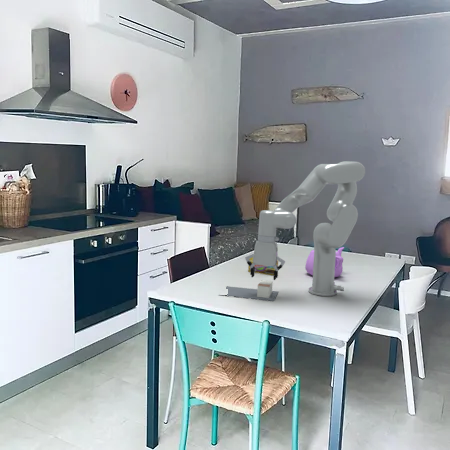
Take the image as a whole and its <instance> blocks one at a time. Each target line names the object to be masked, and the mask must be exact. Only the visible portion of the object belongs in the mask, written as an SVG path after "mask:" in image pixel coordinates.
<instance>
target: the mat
mask: <svg viewBox="0 0 450 450" xmlns="http://www.w3.org/2000/svg"><path fill="white" fill-rule="evenodd" d="M225 287H226V289H228V294H227V295H228V296H227V297H229V296H236V297H235V298H239V297H243V298H242V299H248V298H251V299H250V300H257V299H259V300H260V301H267V300H268V301H269V302H274V301H275V299H276V297H277V296H278V295H279V291H278V290H272V293H271V295H270V297H269V298H264V297H257V288H249V287H240V286H239V287H237V286H230V285H229V286H228V285H227V286H225ZM268 301H267V302H268Z"/></svg>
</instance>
